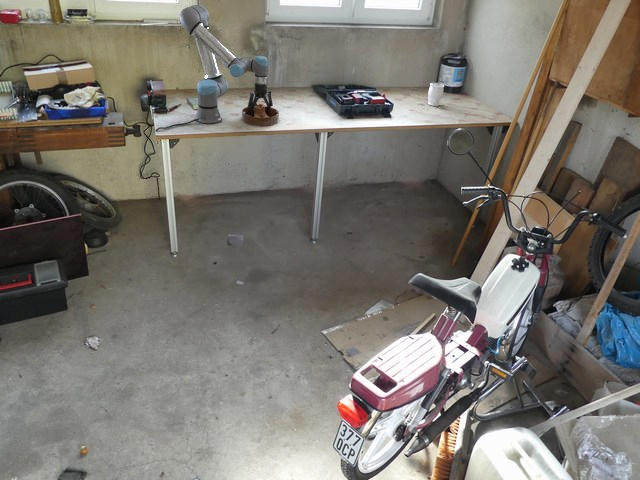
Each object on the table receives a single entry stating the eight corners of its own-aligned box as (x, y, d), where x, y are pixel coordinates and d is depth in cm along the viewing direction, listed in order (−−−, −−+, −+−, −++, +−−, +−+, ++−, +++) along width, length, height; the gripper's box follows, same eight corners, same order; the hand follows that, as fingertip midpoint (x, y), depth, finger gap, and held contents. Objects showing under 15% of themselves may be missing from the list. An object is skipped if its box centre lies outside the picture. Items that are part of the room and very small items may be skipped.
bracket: (250, 113, 342) (250, 103, 338) (262, 113, 345) (263, 103, 341) (256, 123, 328) (257, 112, 324) (269, 123, 330) (270, 112, 327)
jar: (425, 105, 391) (429, 85, 383) (426, 101, 400) (430, 81, 392) (440, 107, 389) (444, 87, 381) (440, 103, 398) (444, 83, 390)
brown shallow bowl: (252, 128, 323) (252, 119, 320) (235, 116, 339) (235, 108, 336) (285, 123, 335) (285, 115, 332) (267, 112, 350) (267, 104, 347)
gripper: (247, 86, 316) (247, 122, 328) (279, 83, 327) (277, 118, 339) (241, 82, 321) (241, 118, 333) (273, 79, 332) (272, 114, 344)
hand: (259, 118), depth 336 cm, fingers closed on bracket, 9 cm apart
